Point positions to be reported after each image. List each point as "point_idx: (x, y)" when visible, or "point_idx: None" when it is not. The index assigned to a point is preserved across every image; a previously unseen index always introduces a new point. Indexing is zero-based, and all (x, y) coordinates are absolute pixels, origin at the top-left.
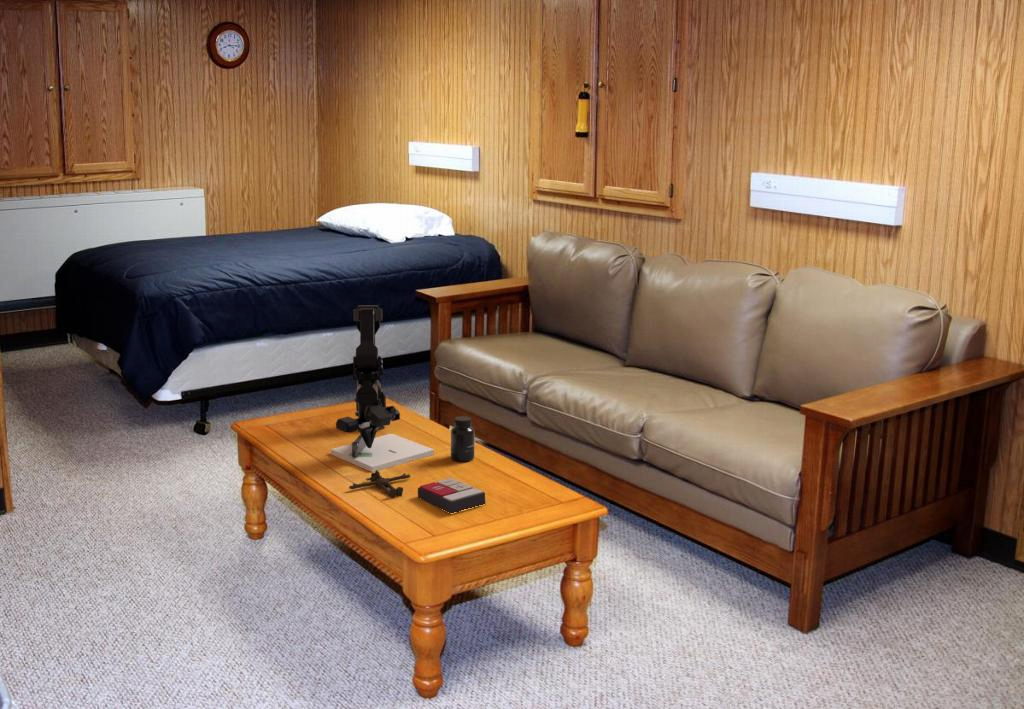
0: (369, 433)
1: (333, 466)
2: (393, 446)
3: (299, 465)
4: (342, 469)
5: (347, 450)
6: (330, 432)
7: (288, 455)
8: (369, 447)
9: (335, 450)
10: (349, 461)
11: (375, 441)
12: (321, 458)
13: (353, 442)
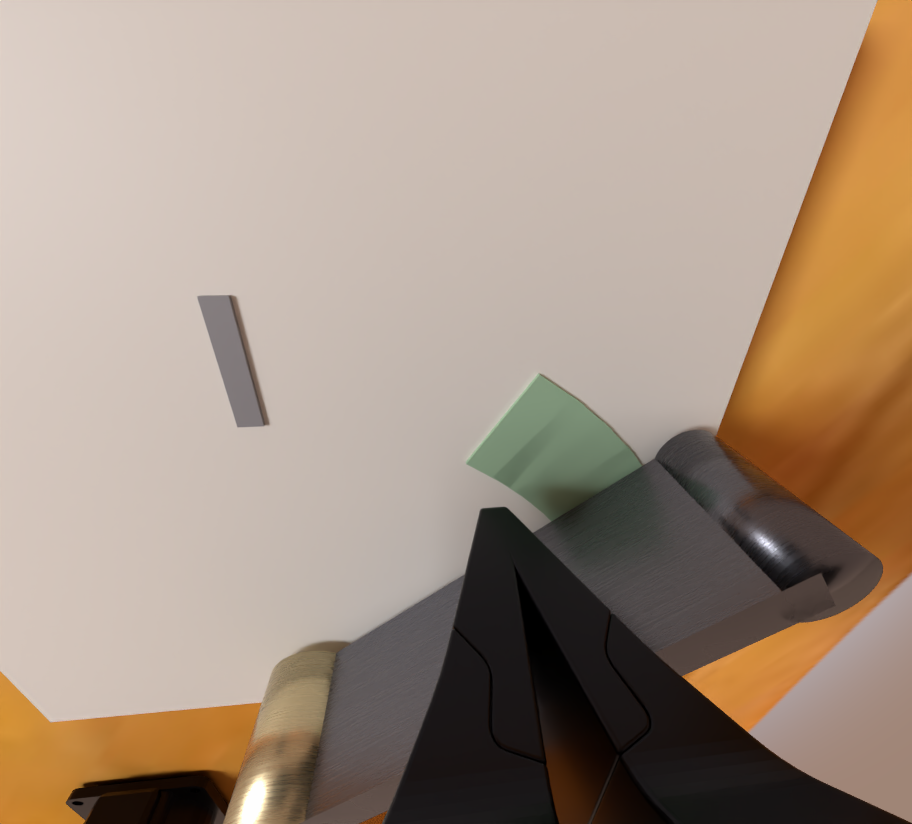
0: (644, 731)
1: (812, 455)
2: (150, 496)
3: (883, 578)
4: (851, 354)
5: None
6: (386, 811)
7: (757, 695)
8: (510, 511)
9: None
10: None
11: (263, 655)
12: None
13: (819, 609)
